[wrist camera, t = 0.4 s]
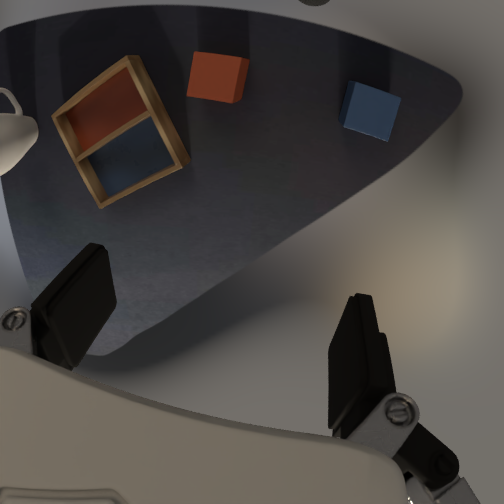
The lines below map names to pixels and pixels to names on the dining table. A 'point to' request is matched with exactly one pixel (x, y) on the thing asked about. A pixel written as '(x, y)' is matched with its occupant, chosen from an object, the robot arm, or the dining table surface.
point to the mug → (15, 135)
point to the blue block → (369, 110)
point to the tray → (120, 132)
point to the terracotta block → (217, 77)
